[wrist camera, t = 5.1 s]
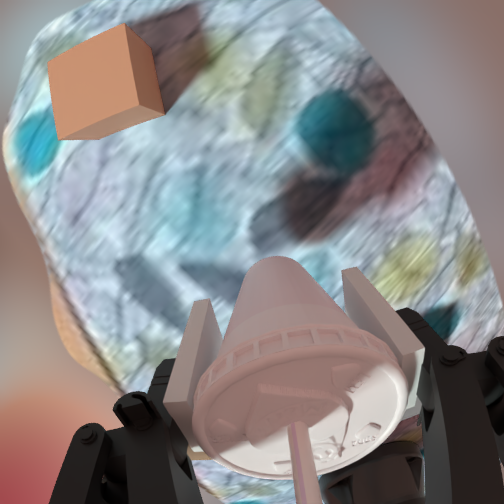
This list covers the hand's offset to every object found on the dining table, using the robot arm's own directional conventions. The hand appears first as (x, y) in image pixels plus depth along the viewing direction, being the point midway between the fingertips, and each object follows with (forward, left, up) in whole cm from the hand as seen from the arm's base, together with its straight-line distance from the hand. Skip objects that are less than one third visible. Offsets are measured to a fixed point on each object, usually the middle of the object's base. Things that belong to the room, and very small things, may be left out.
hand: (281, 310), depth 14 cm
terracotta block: (+13, +7, -7) cm, 17 cm away
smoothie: (0, 0, -3) cm, 3 cm away
